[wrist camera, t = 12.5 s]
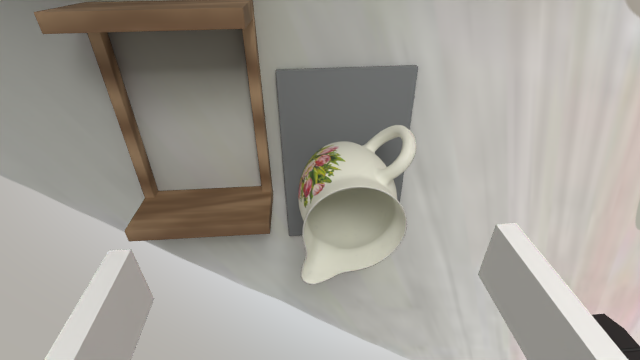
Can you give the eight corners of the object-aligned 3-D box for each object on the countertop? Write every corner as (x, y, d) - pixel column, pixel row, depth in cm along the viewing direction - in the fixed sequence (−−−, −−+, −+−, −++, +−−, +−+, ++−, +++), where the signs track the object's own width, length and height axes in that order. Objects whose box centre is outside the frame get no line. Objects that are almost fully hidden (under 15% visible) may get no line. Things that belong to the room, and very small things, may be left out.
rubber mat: (276, 69, 39) (275, 71, 38) (416, 65, 39) (418, 66, 39) (289, 232, 52) (289, 236, 51) (394, 226, 52) (395, 230, 52)
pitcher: (423, 132, 43) (472, 192, 31) (333, 224, 50) (345, 302, 38) (359, 79, 39) (386, 125, 27) (270, 187, 46) (261, 261, 34)
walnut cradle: (84, 2, 34) (33, 12, 27) (252, -2, 35) (242, 7, 28) (152, 201, 47) (128, 241, 40) (273, 195, 48) (269, 233, 41)
